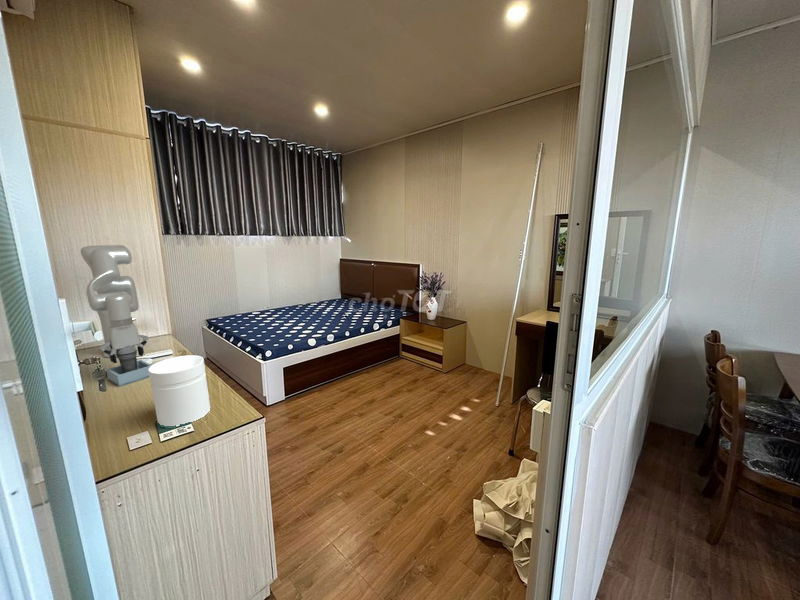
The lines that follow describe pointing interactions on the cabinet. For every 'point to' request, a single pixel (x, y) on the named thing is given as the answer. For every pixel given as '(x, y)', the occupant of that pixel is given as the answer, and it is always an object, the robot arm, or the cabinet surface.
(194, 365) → the canister
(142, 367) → the bin
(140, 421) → the cabinet surface
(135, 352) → the beverage cup
